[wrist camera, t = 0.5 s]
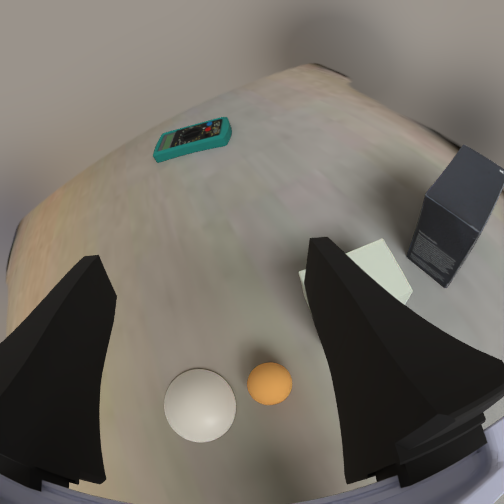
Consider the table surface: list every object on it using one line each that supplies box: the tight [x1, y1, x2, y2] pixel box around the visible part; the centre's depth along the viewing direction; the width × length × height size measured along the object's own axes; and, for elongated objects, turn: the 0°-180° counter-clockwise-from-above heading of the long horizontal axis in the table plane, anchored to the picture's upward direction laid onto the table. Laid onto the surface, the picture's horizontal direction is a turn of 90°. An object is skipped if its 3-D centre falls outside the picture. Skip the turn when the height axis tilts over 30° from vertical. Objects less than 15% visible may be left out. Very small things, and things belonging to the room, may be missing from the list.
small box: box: [407, 145, 504, 288], centre depth 24 cm, size 11×6×10 cm, turn 129°
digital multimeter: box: [153, 117, 232, 163], centre depth 50 cm, size 7×15×3 cm, turn 89°
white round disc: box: [164, 369, 236, 442], centre depth 26 cm, size 8×8×1 cm
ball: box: [247, 362, 292, 405], centre depth 24 cm, size 4×4×4 cm
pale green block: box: [299, 238, 413, 318], centre depth 26 cm, size 6×8×6 cm
